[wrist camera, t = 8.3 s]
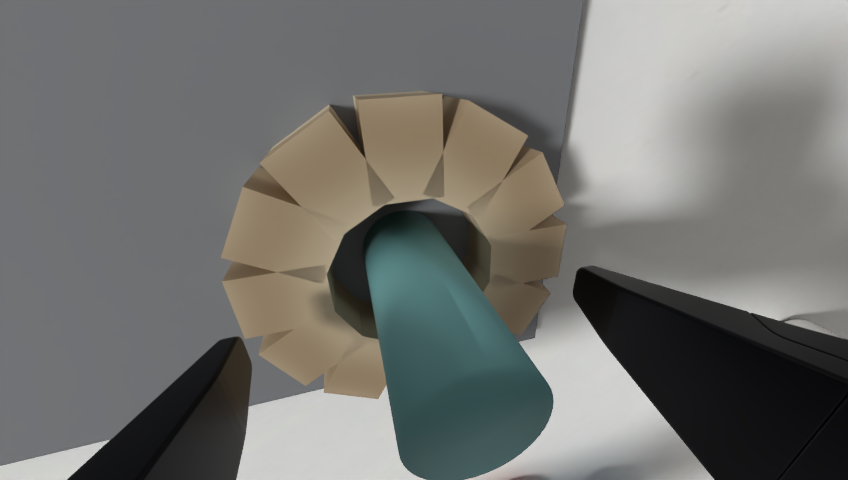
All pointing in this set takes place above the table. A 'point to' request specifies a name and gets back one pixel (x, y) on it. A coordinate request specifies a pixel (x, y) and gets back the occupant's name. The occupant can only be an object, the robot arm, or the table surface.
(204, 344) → the charcoal mat
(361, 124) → the birch segmented ring
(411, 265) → the teal peg
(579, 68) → the table surface
